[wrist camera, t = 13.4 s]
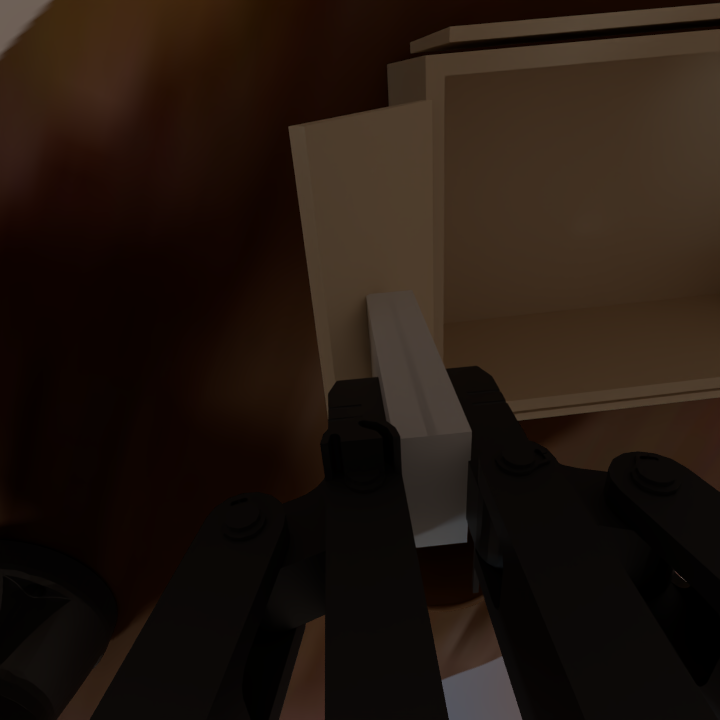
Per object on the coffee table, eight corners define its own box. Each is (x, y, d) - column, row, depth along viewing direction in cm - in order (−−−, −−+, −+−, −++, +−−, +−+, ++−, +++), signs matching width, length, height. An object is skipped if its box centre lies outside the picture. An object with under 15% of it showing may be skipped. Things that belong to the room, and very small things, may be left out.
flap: (304, 125, 10) (288, 126, 10) (352, 525, 16) (342, 521, 16) (432, 99, 15) (420, 100, 16) (434, 407, 21) (425, 405, 21)
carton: (399, 343, 30) (430, 433, 23) (386, 46, 23) (424, 28, 15) (715, 308, 31) (851, 384, 23) (804, 9, 24) (1050, -27, 16)
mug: (509, 364, 32) (577, 462, 24) (543, 444, 35) (613, 553, 27) (345, 442, 34) (355, 557, 26) (393, 510, 37) (416, 631, 29)
